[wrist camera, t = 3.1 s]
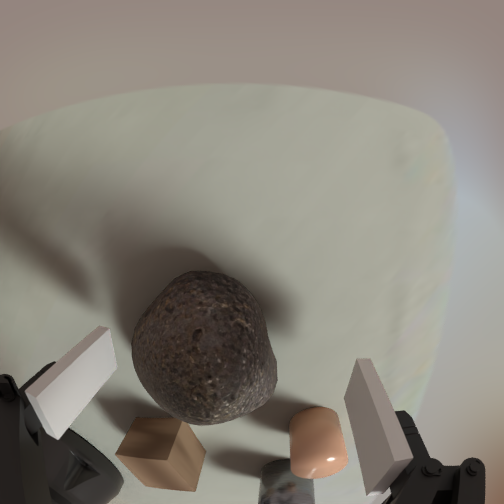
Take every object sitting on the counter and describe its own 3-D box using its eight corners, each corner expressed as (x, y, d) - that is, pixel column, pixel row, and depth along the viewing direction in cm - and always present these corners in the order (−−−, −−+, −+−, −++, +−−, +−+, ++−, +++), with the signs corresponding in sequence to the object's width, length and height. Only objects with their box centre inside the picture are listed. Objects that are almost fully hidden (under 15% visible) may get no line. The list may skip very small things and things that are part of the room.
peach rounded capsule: (285, 437, 19) (286, 479, 15) (293, 406, 18) (296, 451, 14) (331, 437, 19) (339, 477, 15) (344, 406, 18) (355, 448, 14)
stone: (221, 372, 22) (315, 419, 15) (129, 400, 17) (201, 488, 9) (214, 258, 22) (322, 265, 14) (106, 268, 16) (166, 291, 9)
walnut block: (160, 449, 21) (145, 486, 16) (136, 416, 20) (114, 454, 15) (206, 450, 20) (195, 491, 15) (184, 416, 19) (167, 460, 15)
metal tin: (259, 481, 21) (254, 526, 15) (263, 458, 20) (258, 509, 14) (307, 482, 21) (309, 526, 15) (317, 459, 20) (321, 509, 14)
